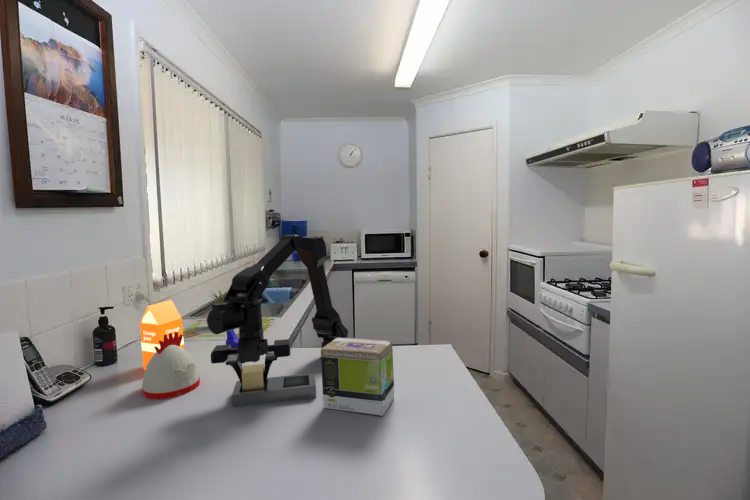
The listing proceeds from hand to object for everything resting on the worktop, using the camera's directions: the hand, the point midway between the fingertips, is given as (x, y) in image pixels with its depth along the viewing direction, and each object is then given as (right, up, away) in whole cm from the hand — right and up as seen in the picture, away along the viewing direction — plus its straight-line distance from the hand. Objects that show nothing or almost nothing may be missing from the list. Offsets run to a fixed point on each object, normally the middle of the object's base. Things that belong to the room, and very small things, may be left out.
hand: (254, 383), depth 102 cm
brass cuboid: (0, -1, 0) cm, 1 cm away
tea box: (+27, -3, -5) cm, 27 cm away
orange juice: (-35, -3, +24) cm, 42 cm away
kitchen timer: (-25, -4, +8) cm, 26 cm away
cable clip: (-15, -1, +41) cm, 44 cm away
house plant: (-34, +2, +69) cm, 77 cm away
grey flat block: (+5, -3, +1) cm, 6 cm away
